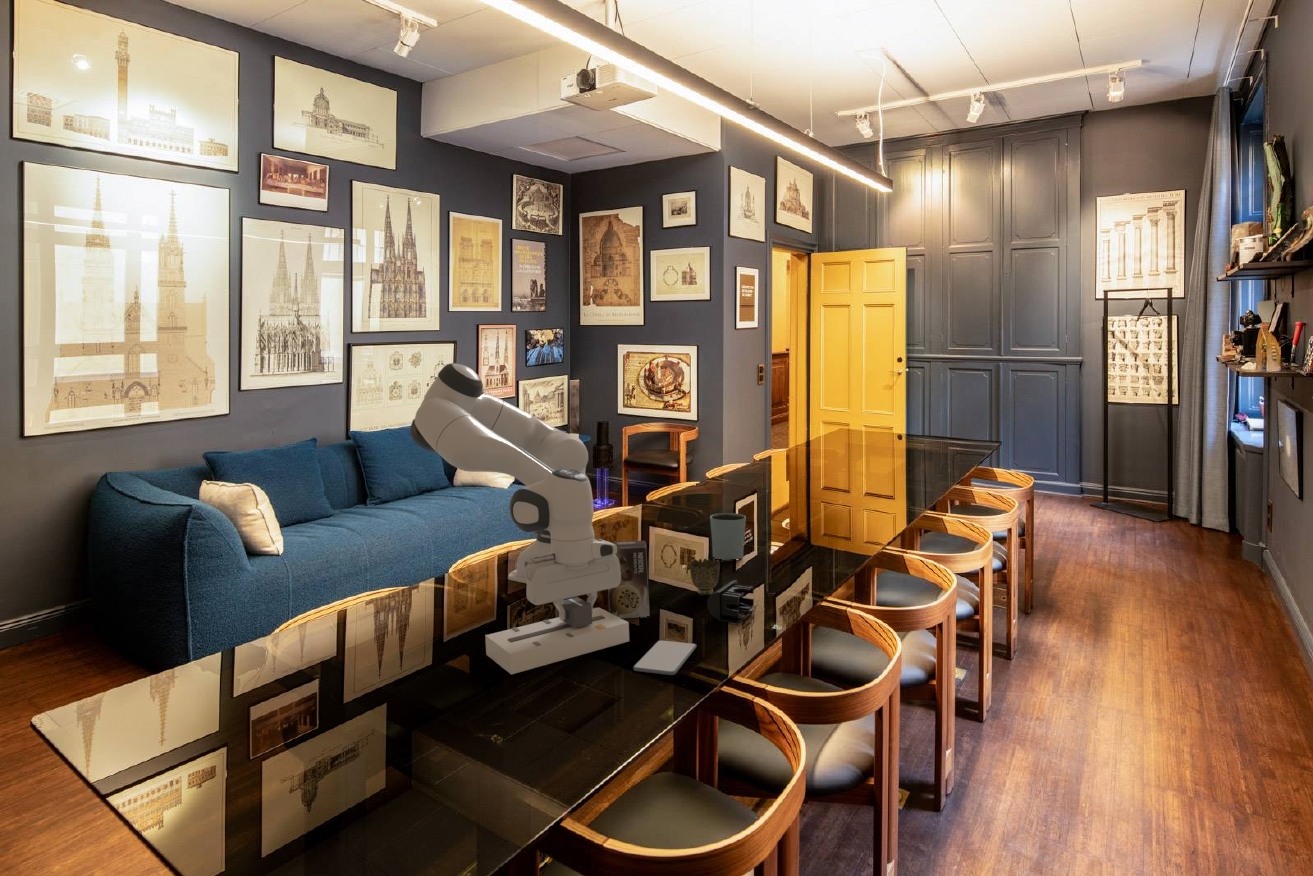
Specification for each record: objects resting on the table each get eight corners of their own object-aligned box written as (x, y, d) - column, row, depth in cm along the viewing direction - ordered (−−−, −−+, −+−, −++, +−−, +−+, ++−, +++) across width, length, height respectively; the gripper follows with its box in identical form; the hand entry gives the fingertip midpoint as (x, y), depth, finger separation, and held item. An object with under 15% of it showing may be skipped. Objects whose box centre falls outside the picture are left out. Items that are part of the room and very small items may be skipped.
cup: (718, 599, 180) (717, 566, 179) (688, 598, 182) (687, 565, 181) (722, 589, 187) (721, 558, 186) (692, 589, 189) (691, 557, 188)
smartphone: (697, 643, 152) (674, 672, 138) (697, 648, 152) (674, 677, 138) (658, 639, 155) (631, 667, 141) (658, 644, 155) (631, 672, 141)
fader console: (511, 674, 141) (510, 652, 141) (486, 654, 151) (485, 634, 150) (629, 641, 156) (628, 621, 155) (599, 625, 166) (598, 606, 165)
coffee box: (648, 608, 176) (646, 540, 174) (649, 618, 169) (647, 547, 167) (609, 610, 175) (606, 541, 173) (608, 619, 169) (605, 548, 167)
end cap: (725, 607, 175) (725, 578, 174) (754, 611, 172) (754, 582, 171) (707, 620, 166) (706, 590, 166) (737, 625, 163) (736, 594, 162)
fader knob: (574, 628, 152) (573, 608, 151) (560, 619, 156) (559, 600, 156) (592, 623, 154) (591, 603, 153) (577, 615, 159) (577, 596, 158)
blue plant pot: (705, 555, 220) (704, 514, 219) (738, 551, 223) (737, 511, 222) (719, 564, 210) (718, 521, 209) (752, 560, 213) (751, 518, 212)
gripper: (532, 562, 145) (536, 632, 147) (623, 544, 157) (626, 609, 158) (519, 556, 150) (522, 623, 152) (608, 539, 162) (610, 602, 163)
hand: (576, 616), depth 155 cm, fingers closed on fader knob, 4 cm apart
